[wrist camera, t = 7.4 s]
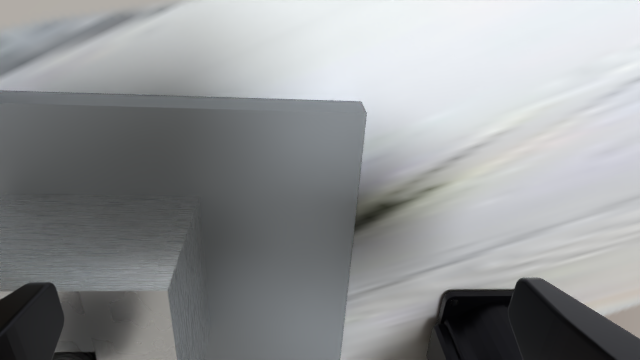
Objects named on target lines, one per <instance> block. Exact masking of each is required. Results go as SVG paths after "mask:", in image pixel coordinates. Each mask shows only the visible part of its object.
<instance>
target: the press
mask: <svg viewBox="0 0 640 360" xmlns="http://www.w3.org/2000/svg"><path fill="white" fill-rule="evenodd" d="M31 282H50V283H53V284H54V285H55V287H56V289H57V292H58V296H59V299H60V302H61V306H62V309H63V312H64V326H63V330H62V332H61V335H60V338H59V341H58V344H57V347H56V349H55V352H93V351H95V354H96V358H97V360H205V356H206V350H207V345H208V340H209V335H210V330H211V326H210V314H209V302H208V291H207V279H206V267H205V255H204V244H203V232H202V220H201V209H200V197H199V196H167V195H81V194H5V195H4V196H3V197H2V198H1V199H0V299H2V298H4V297H5V296H7V295H8V294H10V293H12V292H13V291H15V290H17V289H18V288H20V287H22V286H23V285H25V284H27V283H31Z"/></svg>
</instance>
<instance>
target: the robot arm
mask: <svg viewBox="0 0 640 360" xmlns="http://www.w3.org/2000/svg"><path fill="white" fill-rule="evenodd" d="M452 300H454V301H452ZM63 326H64V312H63V309H62V306H61V302H60V299H59V296H58V292H57V289H56V287H55V285H54V284H53V283H50V282H31V283H27V284H25V285H23V286H22V287H20V288H18V289H17V290H15V291H13V292H12V293H10V294H8V295H7V296H5V297H4V298H2V299H0V360H52V358H53V355H54V352H55V349H56V347H57V344H58V341H59V338H60V335H61V332H62V330H63ZM427 359H428V360H640V339H639V338H638V337H636V336H634V335H633V334H631V333H630V332H628V331H626V330H625V329H623V328H621V327H620V326H618V325H617V324H615V323H613V322H612V321H610V320H608V319H607V318H605V317H604V316H602V315H600V314H599V313H597V312H595V311H594V310H592V309H591V308H589V307H587V306H586V305H584V304H582V303H581V302H579V301H578V300H576V299H574V298H573V297H571V296H569V295H568V294H566V293H565V292H563V291H561V290H560V289H558V288H556V287H555V286H553V285H552V284H550V283H548V282H547V281H545V280H543V279H541V278H521V279H519V280H518V281H517V283H516V286H515V289H514V291H452V292H449V293H447V294H446V295H444V297H443V301H442V305H441V309H440V313H439V317H438V322H437V323H436V324H435V326H434V327H433V330H432V334H431V338H430V343H429V347H428V351H427Z"/></svg>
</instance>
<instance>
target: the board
mask: <svg viewBox="0 0 640 360" xmlns="http://www.w3.org/2000/svg"><path fill="white" fill-rule="evenodd" d="M366 116H367V113H366V111H365V108H364V106H363V104H362V102H356V101H323V100H290V99H257V98H224V97H191V96H159V95H126V94H93V93H60V92H27V91H0V199H1V198H2V197H3V196H4V195H5V194H81V195H167V196H199V197H200V209H201V220H202V232H203V244H204V255H205V267H206V279H207V291H208V302H209V314H210V326H211V330H210V335H209V340H208V345H207V350H206V356H205V360H340V357H341V347H342V338H343V329H344V320H345V310H346V301H347V292H348V283H349V273H350V264H351V255H352V245H353V236H354V227H355V218H356V208H357V199H358V190H359V181H360V171H361V162H362V153H363V144H364V134H365V125H366Z"/></svg>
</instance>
